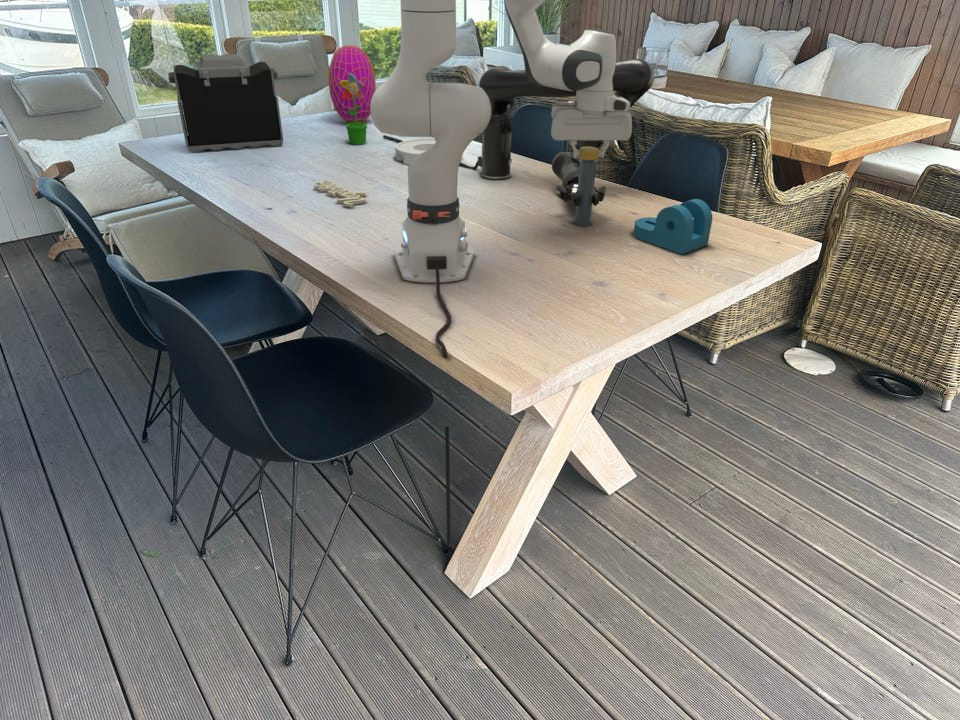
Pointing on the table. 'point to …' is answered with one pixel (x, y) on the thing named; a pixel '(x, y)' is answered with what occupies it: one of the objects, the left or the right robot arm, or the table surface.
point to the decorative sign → (340, 193)
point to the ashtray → (412, 149)
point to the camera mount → (677, 227)
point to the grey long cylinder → (585, 192)
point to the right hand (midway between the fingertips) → (586, 202)
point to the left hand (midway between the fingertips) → (588, 157)
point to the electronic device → (227, 103)
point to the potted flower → (354, 129)
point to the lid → (589, 153)
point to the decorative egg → (340, 66)
